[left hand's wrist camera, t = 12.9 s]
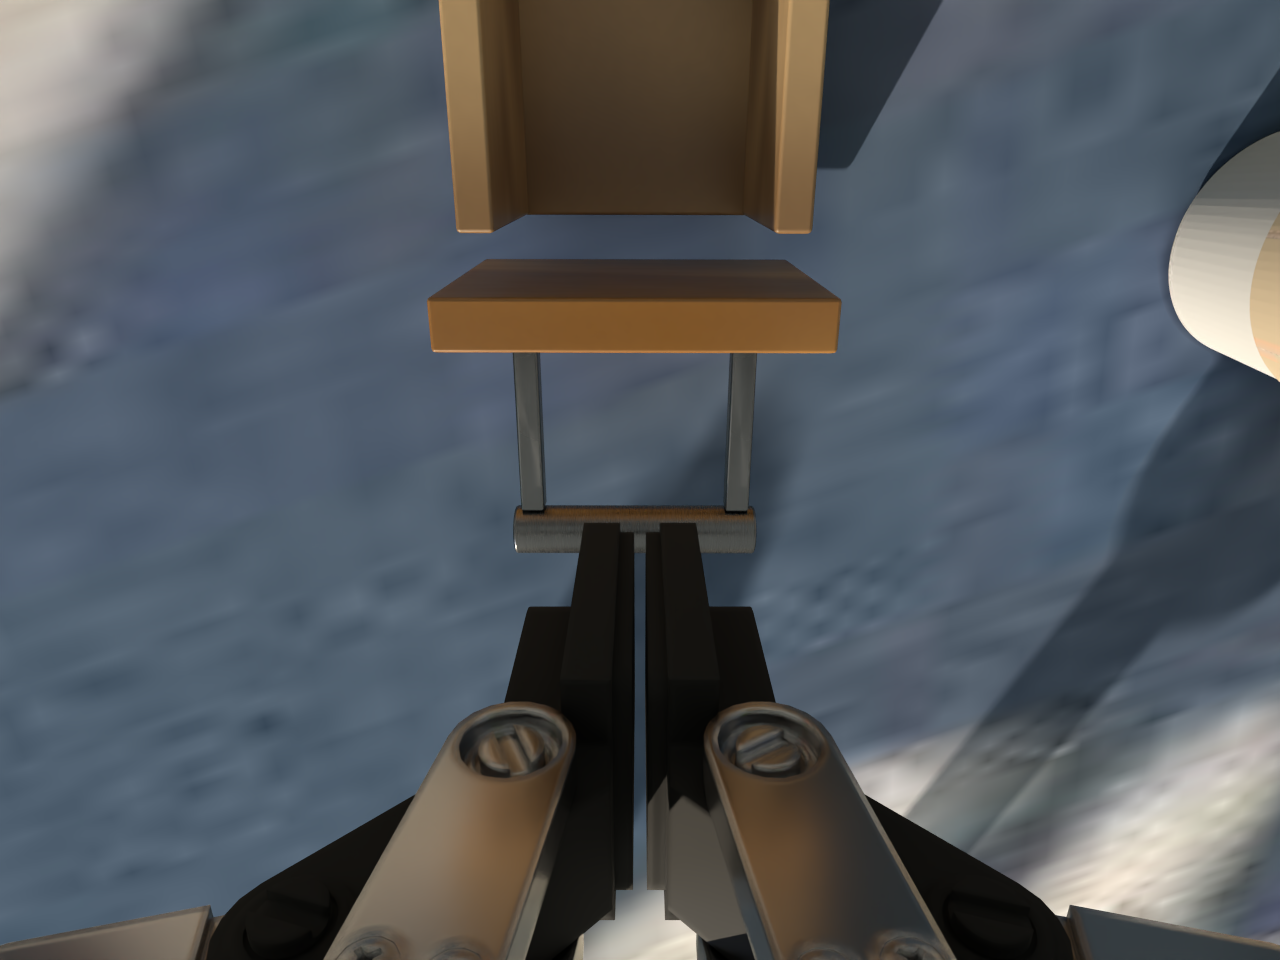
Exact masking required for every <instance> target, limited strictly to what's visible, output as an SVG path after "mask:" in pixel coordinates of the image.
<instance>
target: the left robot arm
mask: <svg viewBox="0 0 1280 960" xmlns="http://www.w3.org/2000/svg"><path fill="white" fill-rule="evenodd" d="M634 721H635V618H634V532H620V523H584V525H583V532H582V538H581V545H580V552H579V558H578V565H577V571H576V578H575V584H574V591H573V597H572V604H571V607H529V608H528V610H527V613H526V617H525V621H524V626H523V630H522V634H521V638H520V642H519V646H518V650H517V654H516V658H515V662H514V666H513V670H512V674H511V678H510V682H509V686H508V690H507V694H506V698H505V702H504V703H501V704H496V705H491V706H489V707H486V708H484V709H481V710H479V711H476V712H474V713H472V714H471V715H469V716H468V717H467V718H465V719H464V720H462V721H461V722H459V723H458V724H457V726H456V727H455V728H454V729H453V731H452V732H451V733H450V734H449V736H448V737H447V739H446V741H445V743H444V745H443V746H442V748H441V750H440V752H439V754H438V755H437V757H436V759H435V761H434V763H433V764H432V766H431V768H430V770H429V771H428V773H427V775H426V777H425V779H424V780H423V782H422V784H421V786H420V788H419V789H418V791H417V793H416V794H415V795H414V796H412V797H410V798H408V799H407V800H405V801H403V802H401V803H400V804H398V805H396V806H395V807H393V808H391V809H389V810H388V811H386V812H384V813H382V814H381V815H379V816H377V817H376V818H374V819H372V820H370V821H369V822H367V823H365V824H363V825H362V826H360V827H358V828H357V829H355V830H353V831H351V832H350V833H348V834H346V835H344V836H343V837H341V838H339V839H337V840H336V841H334V842H332V843H331V844H329V845H327V846H325V847H324V848H322V849H320V850H318V851H317V852H315V853H313V854H312V855H310V856H308V857H306V858H305V859H303V860H301V861H299V862H298V863H296V864H294V865H293V866H291V867H289V868H287V869H286V870H284V871H282V872H280V873H279V874H277V875H275V876H274V877H272V878H270V879H268V880H267V881H265V882H263V883H261V884H260V885H259V886H257V887H256V888H254V889H253V890H252V891H250V892H249V893H247V894H246V895H245V896H243V897H242V898H240V899H239V900H238V901H237V902H236V903H235V904H234V906H233V907H232V908H231V909H230V910H229V911H228V912H227V913H226V914H225V915H223V916H218V917H213V914H212V910H211V906H210V905H207V906H202V907H196V908H191V909H186V910H180V911H175V912H170V913H165V914H159V915H154V916H149V917H143V918H138V919H133V920H127V921H122V922H117V923H112V924H106V925H101V926H96V927H90V928H85V929H80V930H74V931H69V932H64V933H59V934H53V935H48V936H43V937H37V938H32V939H27V940H21V941H16V942H11V943H7V944H4V945H1V946H0V960H583V949H584V935H583V933H585V932H586V931H587V930H588V929H589V928H591V927H592V926H593V925H594V924H595V923H597V922H598V921H599V920H615V899H616V890H633V823H634ZM645 721H646V823H647V890H664V899H665V920H681V921H682V922H683V923H685V924H686V925H687V926H688V927H689V928H691V929H692V930H693V931H694V932H695V933H697V935H696V949H697V960H1280V946H1279V945H1276V944H1273V943H1269V942H1264V941H1259V940H1253V939H1248V938H1243V937H1237V936H1232V935H1227V934H1221V933H1216V932H1211V931H1206V930H1200V929H1195V928H1190V927H1184V926H1179V925H1174V924H1168V923H1163V922H1158V921H1153V920H1147V919H1142V918H1137V917H1131V916H1126V915H1121V914H1115V913H1110V912H1105V911H1100V910H1094V909H1089V908H1084V907H1078V906H1073V905H1070V906H1069V910H1068V914H1067V917H1062V916H1057V915H1055V914H1054V913H1053V912H1052V911H1051V910H1050V909H1049V908H1048V907H1047V906H1046V904H1045V903H1044V902H1043V901H1042V900H1041V899H1040V898H1038V897H1037V896H1035V895H1034V894H1033V893H1031V892H1030V891H1028V890H1027V889H1026V888H1024V887H1023V886H1021V885H1020V884H1019V883H1017V882H1015V881H1013V880H1012V879H1010V878H1008V877H1006V876H1005V875H1003V874H1001V873H1000V872H998V871H996V870H994V869H993V868H991V867H989V866H987V865H986V864H984V863H982V862H981V861H979V860H977V859H975V858H974V857H972V856H970V855H968V854H967V853H965V852H963V851H962V850H960V849H958V848H956V847H955V846H953V845H951V844H949V843H948V842H946V841H944V840H943V839H941V838H939V837H937V836H936V835H934V834H932V833H930V832H929V831H927V830H925V829H923V828H922V827H920V826H918V825H917V824H915V823H913V822H911V821H910V820H908V819H906V818H904V817H903V816H901V815H899V814H898V813H896V812H894V811H892V810H891V809H889V808H887V807H885V806H884V805H882V804H880V803H879V802H877V801H875V800H873V799H872V798H870V797H868V796H866V795H865V794H864V793H863V791H862V789H861V788H860V786H859V784H858V782H857V780H856V779H855V777H854V775H853V773H852V771H851V770H850V768H849V766H848V764H847V763H846V761H845V759H844V757H843V755H842V754H841V752H840V750H839V748H838V746H837V745H836V743H835V741H834V739H833V737H832V736H831V734H830V733H829V732H828V731H827V729H826V728H825V727H824V726H823V724H822V723H821V722H819V721H818V720H816V719H815V718H813V717H812V716H811V715H809V714H808V713H806V712H804V711H801V710H799V709H796V708H794V707H791V706H789V705H784V704H779V703H776V702H775V698H774V694H773V690H772V686H771V682H770V678H769V674H768V670H767V666H766V662H765V658H764V654H763V650H762V646H761V642H760V638H759V634H758V630H757V626H756V621H755V617H754V613H753V610H752V608H751V607H709V604H708V597H707V591H706V584H705V578H704V571H703V565H702V558H701V552H700V545H699V539H698V532H697V525H696V523H660V532H646V617H645Z"/></svg>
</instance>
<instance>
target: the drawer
mask: <svg viewBox="0 0 1280 960" xmlns="http://www.w3.org/2000/svg"><path fill="white" fill-rule="evenodd" d="M829 4H830V0H439V10H440V23H441V36H442V49H443V61H444V74H445V87H446V100H447V113H448V126H449V139H450V152H451V165H452V177H453V190H454V203H455V216H456V229H457V231H458V232H460V233H491V232H494V231H496V230H497V229H499V228H501V227H503V226H505V225H507V224H509V223H511V222H513V221H515V220H517V219H519V218H521V217H523V216H525V215H746V216H748V217H749V218H751V219H753V220H755V221H757V222H758V223H760V224H762V225H764V226H765V227H767V228H769V229H771V230H772V231H774V232H776V233H778V234H808V233H810V232H811V230H812V226H813V213H814V200H815V187H816V174H817V161H818V147H819V134H820V121H821V108H822V95H823V82H824V69H825V56H826V43H827V30H828V17H829ZM841 303H842V302H841V299H840V298H838V297H837V296H835V295H834V294H833V293H831V292H830V291H828V290H827V289H826V288H824V287H823V286H821V285H820V284H819V283H817V282H816V281H814V280H813V279H812V278H810V277H809V276H807V275H806V274H805V273H803V272H802V271H800V270H799V269H798V268H796V267H795V266H793V265H792V264H791V263H789V262H788V261H786V260H641V259H486V260H484V261H483V262H481V263H480V264H478V265H477V266H475V267H474V268H472V269H471V270H470V271H468V272H467V273H465V274H464V275H462V276H461V277H459V278H458V279H456V280H455V281H453V282H452V283H450V284H449V285H447V286H446V287H444V288H443V289H441V290H440V291H438V292H437V293H435V294H434V295H432V296H431V297H429V298H428V300H427V306H428V317H429V327H430V338H431V348H432V350H433V351H434V352H513V366H514V384H515V401H516V419H517V437H518V455H519V473H520V490H521V505H519V506H517V507H516V509H515V513H514V522H513V539H514V547H515V550H516V552H518V553H579V552H580V545H581V538H582V532H583V525H584V523H620V532H634V553H646V532H660V523H696V525H697V532H698V539H699V545H700V552H701V553H753V552H754V550H755V545H756V515H755V510H754V508H753V506H748V505H749V487H750V469H751V451H752V433H753V415H754V397H755V379H756V361H757V353H834V352H836V351H837V346H838V335H839V325H840V314H841ZM540 353H730V364H729V387H728V410H727V433H726V456H725V479H724V506H610V505H546V481H545V458H544V435H543V412H542V389H541V366H540Z"/></svg>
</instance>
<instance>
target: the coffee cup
mask: <svg viewBox="0 0 1280 960" xmlns="http://www.w3.org/2000/svg"><path fill="white" fill-rule="evenodd" d="M1169 288H1170V294H1171V299H1172V302H1173V306H1174V308H1175V311H1176V313H1177V315H1178V317H1179V319H1180V321H1181V322H1182V324H1183V325H1184V327H1185V328H1186V329H1187V330H1188V331H1189V333H1190V334H1191V335H1192V336H1193V337H1195V338H1196V339H1197V340H1198V341H1200V342H1201V343H1203V344H1204V345H1206V346H1207V347H1209V348H1211V349H1213V350H1216V351H1218V352H1220V353H1222V354H1224V355H1226V356H1228V357H1231V358H1233V359H1235V360H1237V361H1239V362H1241V363H1243V364H1246V365H1248V366H1250V367H1252V368H1254V369H1256V370H1258V371H1261V372H1263V373H1265V374H1267V375H1269V376H1271V377H1274V378H1276V379H1277V380H1278V381H1279V382H1280V131H1279V132H1276V133H1274V134H1272V135H1269V136H1267V137H1265V138H1263V139H1261V140H1259V141H1257V142H1255V143H1254V144H1252V145H1250V146H1249V147H1247V148H1245V149H1244V150H1243V151H1241V152H1240V153H1238V154H1237V155H1236V156H1234V157H1233V158H1232V159H1230V160H1229V161H1228V162H1227V163H1226V164H1225V165H1223V166H1222V167H1221V168H1220V169H1219V170H1218V171H1217V172H1216V173H1215V174H1214V175H1213V176H1212V177H1211V178H1210V179H1209V181H1208V182H1207V183H1206V184H1205V185H1204V186H1203V188H1202V189H1201V190H1200V192H1199V193H1198V194H1197V196H1196V197H1195V199H1194V200H1193V202H1192V203H1191V205H1190V206H1189V208H1188V210H1187V212H1186V213H1185V215H1184V217H1183V219H1182V221H1181V224H1180V226H1179V228H1178V231H1177V234H1176V236H1175V240H1174V243H1173V246H1172V251H1171V256H1170V263H1169Z"/></svg>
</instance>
